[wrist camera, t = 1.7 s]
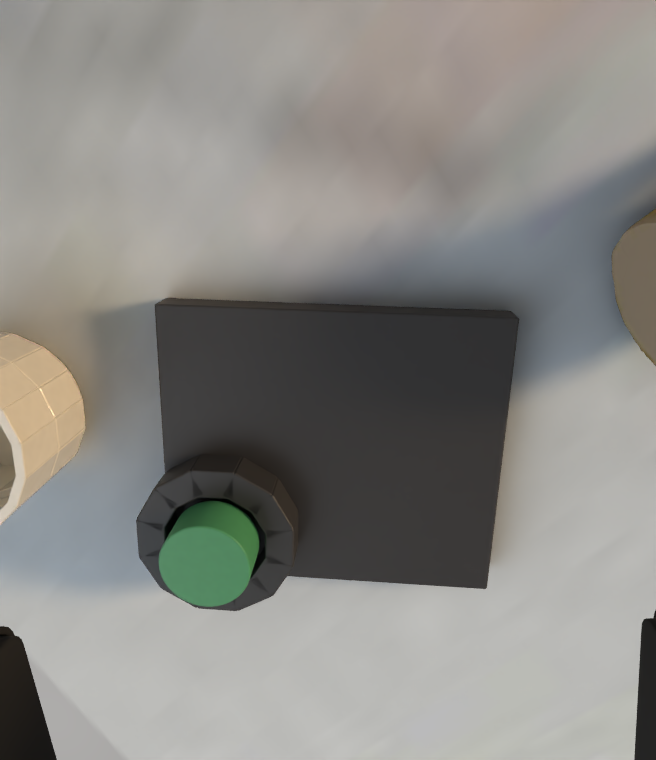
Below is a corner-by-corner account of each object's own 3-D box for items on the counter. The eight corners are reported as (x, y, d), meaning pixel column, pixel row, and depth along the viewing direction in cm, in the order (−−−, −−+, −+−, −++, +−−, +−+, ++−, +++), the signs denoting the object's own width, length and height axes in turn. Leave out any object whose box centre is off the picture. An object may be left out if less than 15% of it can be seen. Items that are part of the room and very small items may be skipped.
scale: (164, 564, 29) (142, 605, 27) (147, 297, 26) (119, 311, 23) (480, 584, 28) (491, 629, 26) (511, 310, 25) (529, 327, 22)
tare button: (176, 573, 26) (160, 604, 24) (172, 497, 25) (155, 523, 23) (260, 578, 26) (251, 610, 24) (259, 502, 25) (250, 529, 23)
